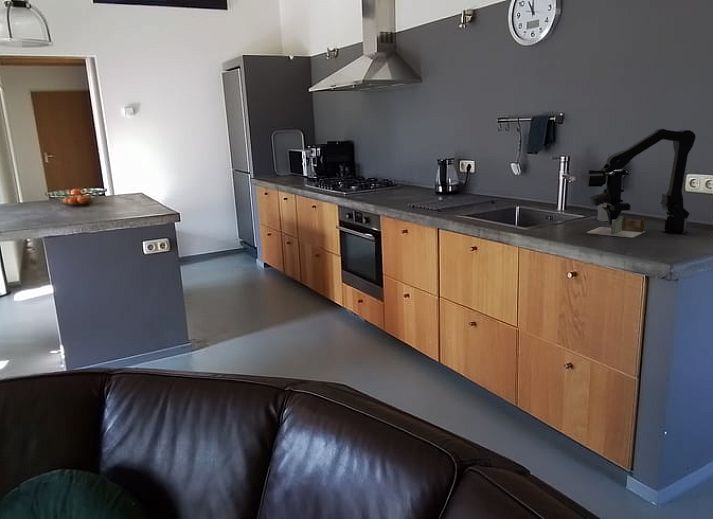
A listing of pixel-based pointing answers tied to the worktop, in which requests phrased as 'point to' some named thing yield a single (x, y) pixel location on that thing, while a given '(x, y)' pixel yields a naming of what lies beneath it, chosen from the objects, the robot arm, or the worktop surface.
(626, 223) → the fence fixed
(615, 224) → the fence panel
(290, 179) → the worktop surface
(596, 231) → the card
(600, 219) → the gray block
